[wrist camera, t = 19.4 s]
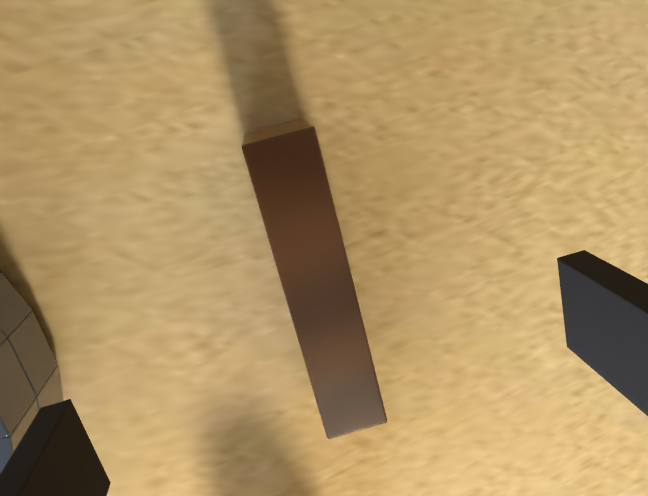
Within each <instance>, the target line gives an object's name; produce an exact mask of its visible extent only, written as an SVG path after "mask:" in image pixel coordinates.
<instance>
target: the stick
mask: <svg viewBox="0 0 648 496" xmlns="http://www.w3.org/2000/svg"><path fill="white" fill-rule="evenodd" d="M242 150H243V153H244V157H245V160H246V164H247V167H248V170H249V174H250V177H251V181H252V184H253V187H254V191H255V194H256V198H257V201H258V204H259V208H260V211H261V215H262V218H263V221H264V225H265V228H266V232H267V235H268V238H269V242H270V245H271V249H272V252H273V255H274V259H275V262H276V266H277V269H278V273H279V276H280V279H281V283H282V286H283V290H284V293H285V296H286V300H287V303H288V307H289V310H290V313H291V317H292V320H293V324H294V327H295V330H296V334H297V337H298V341H299V344H300V347H301V351H302V354H303V358H304V361H305V364H306V368H307V371H308V375H309V378H310V381H311V385H312V388H313V392H314V395H315V398H316V402H317V405H318V409H319V412H320V415H321V419H322V422H323V426H324V429H325V432H326V436H327V438H328V439H332V438H335V437H339V436H342V435H345V434H349V433H352V432H356V431H359V430H363V429H366V428H370V427H373V426H376V425H380V424H383V423H386V422H387V417H386V413H385V409H384V405H383V401H382V397H381V393H380V389H379V385H378V381H377V377H376V373H375V369H374V365H373V361H372V357H371V353H370V349H369V344H368V340H367V336H366V332H365V328H364V324H363V320H362V316H361V312H360V308H359V304H358V300H357V296H356V292H355V288H354V284H353V280H352V276H351V272H350V268H349V264H348V260H347V256H346V252H345V248H344V243H343V239H342V235H341V231H340V227H339V223H338V219H337V215H336V211H335V207H334V203H333V199H332V195H331V191H330V187H329V183H328V179H327V175H326V171H325V167H324V163H323V159H322V155H321V151H320V147H319V142H318V138H317V134H316V130H315V128H314V126H312V125H311V124H310V123H309V122H308V121H306V120H305V119H304V118H300V119H296V120H292V121H289V122H285V123H281V124H277V125H273V126H270V127H266V128H262V129H258V130H255V131H251V132H247V133H245V134H244V136H243V143H242Z"/></svg>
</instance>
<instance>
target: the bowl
mask: <svg viewBox="0 0 648 496" xmlns="http://www.w3.org/2000/svg"><path fill="white" fill-rule="evenodd" d="M62 401H63V396H62V389H61V382H60V375H59V368H58V365H57V361H56V359H55V357H54V355H53V353H52V351H51V349H50V347H49V344H48V342H47V340H46V338H45V336H44V334H43V332H42V329H41V327H40V325H39V323H38V321H37V319H36V317H35V315H34V312H33V311H32V309H31V307H30V306H29V305H28V304H27V303H26V301H25V300H24V299H23V298H22V297H21V296H20V294H19V293H18V292H17V291H16V290H15V288H14V287H13V286H12V285H11V284H10V282H9V281H8V280H7V279H6V278H5V276H4V275H3V274H2V273H1V272H0V474H1V472H2V470H3V469H4V467H5V465H6V464H7V462H8V460H9V459H10V457H11V456H12V454H13V452H14V451H15V449H16V447H17V446H18V444H19V442H20V441H21V439H22V437H23V436H24V434H25V433H26V431H27V429H28V428H29V426H30V424H31V423H32V421H33V419H34V418H35V416H36V414H37V413H38V411H39V409H40V408H41V407H45V406H48V405H52V404H55V403H59V402H62Z"/></svg>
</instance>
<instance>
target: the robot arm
mask: <svg viewBox="0 0 648 496" xmlns="http://www.w3.org/2000/svg"><path fill="white" fill-rule="evenodd" d="M557 260H558V269H559V278H560V287H561V296H562V305H563V314H564V323H565V332H566V342H567V347H568V348H569V349H570V350H571V351H573V352H574V353H575V354H576V355H577V356H578V357H580V358H581V359H582V360H583V361H584V362H585V363H587V364H588V365H589V366H590V367H591V368H592V369H594V370H595V371H596V372H597V373H598V374H599V375H600V376H602V377H603V378H604V379H605V380H606V381H607V382H609V383H610V384H611V385H612V386H613V387H614V388H616V389H617V390H618V391H619V392H620V393H621V394H623V395H624V396H625V397H626V398H627V399H628V400H630V401H631V402H632V403H633V404H634V405H635V406H637V407H638V408H639V409H640V410H641V411H642V412H644V413H645V414H646V415H647V416H648V284H647V283H645V282H643V281H641V280H639V279H638V278H636V277H634V276H632V275H630V274H628V273H626V272H624V271H622V270H621V269H619V268H617V267H615V266H613V265H611V264H609V263H607V262H606V261H604V260H602V259H600V258H598V257H596V256H594V255H592V254H590V253H589V252H587V251H585V250H583V251H580V252H577V253H573V254H570V255H566V256H563V257H559V258H557ZM109 486H110V481H109V479H108V477H107V475H106V473H105V470H104V468H103V466H102V464H101V462H100V460H99V458H98V456H97V454H96V452H95V450H94V447H93V445H92V443H91V441H90V439H89V437H88V435H87V433H86V431H85V429H84V427H83V424H82V422H81V420H80V418H79V416H78V414H77V412H76V410H75V408H74V406H73V404H72V402H71V399H69V400H66V401H62V402H59V403H55V404H52V405H48V406H45V407H41V408H40V409H39V411H38V413H37V414H36V416H35V418H34V419H33V421H32V423H31V424H30V426H29V428H28V429H27V431H26V433H25V434H24V436H23V437H22V439H21V441H20V442H19V444H18V446H17V447H16V449H15V451H14V452H13V454H12V456H11V457H10V459H9V460H8V462H7V464H6V465H5V467H4V469H3V470H2V472H1V474H0V496H106V495H107V492H108V489H109Z"/></svg>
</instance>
